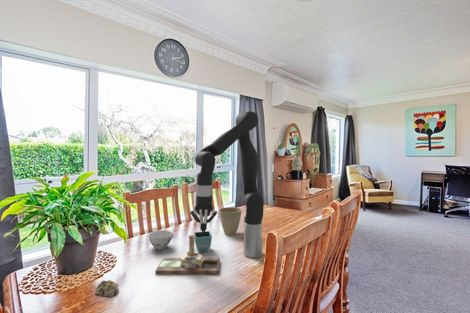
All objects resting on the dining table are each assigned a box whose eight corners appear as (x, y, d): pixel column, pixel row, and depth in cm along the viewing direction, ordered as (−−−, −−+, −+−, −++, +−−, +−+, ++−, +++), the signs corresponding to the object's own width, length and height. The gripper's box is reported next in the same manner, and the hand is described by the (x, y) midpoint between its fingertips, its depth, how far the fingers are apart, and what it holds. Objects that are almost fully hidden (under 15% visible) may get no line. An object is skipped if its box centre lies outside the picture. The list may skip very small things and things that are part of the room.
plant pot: (242, 230, 173) (242, 207, 173) (240, 238, 159) (240, 213, 158) (220, 229, 175) (220, 206, 174) (216, 237, 160) (217, 212, 159)
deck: (219, 261, 126) (219, 248, 126) (218, 274, 113) (218, 260, 113) (163, 261, 126) (163, 248, 125) (155, 274, 113) (155, 260, 112)
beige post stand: (201, 261, 122) (202, 234, 121) (200, 266, 117) (200, 237, 116) (183, 261, 122) (183, 234, 121) (180, 265, 117) (181, 237, 116)
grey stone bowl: (157, 254, 133) (157, 239, 133) (144, 248, 141) (144, 233, 141) (180, 246, 145) (180, 232, 144) (167, 240, 153) (167, 227, 152)
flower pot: (195, 254, 134) (195, 237, 134) (193, 247, 142) (193, 232, 142) (211, 252, 136) (212, 236, 136) (209, 246, 145) (209, 230, 144)
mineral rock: (89, 286, 98) (108, 273, 105) (92, 295, 100) (111, 281, 106) (103, 297, 92) (123, 282, 99) (106, 306, 94) (126, 291, 100)
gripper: (218, 193, 122) (218, 228, 123) (191, 192, 122) (190, 228, 123) (218, 196, 115) (217, 234, 115) (188, 195, 115) (187, 233, 115)
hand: (203, 231), depth 119 cm, fingers closed
